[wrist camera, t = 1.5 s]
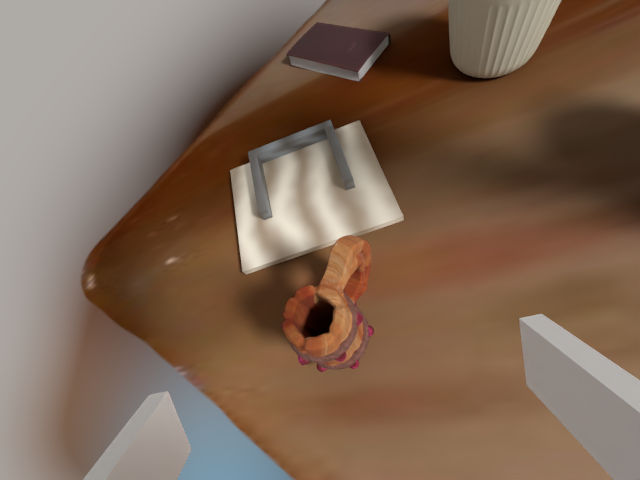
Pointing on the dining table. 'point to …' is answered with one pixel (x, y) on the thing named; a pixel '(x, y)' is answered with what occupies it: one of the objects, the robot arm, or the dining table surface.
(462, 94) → the dining table surface
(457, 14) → the canister
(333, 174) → the notched board
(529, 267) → the dining table surface
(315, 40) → the book
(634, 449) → the robot arm
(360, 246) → the mug
